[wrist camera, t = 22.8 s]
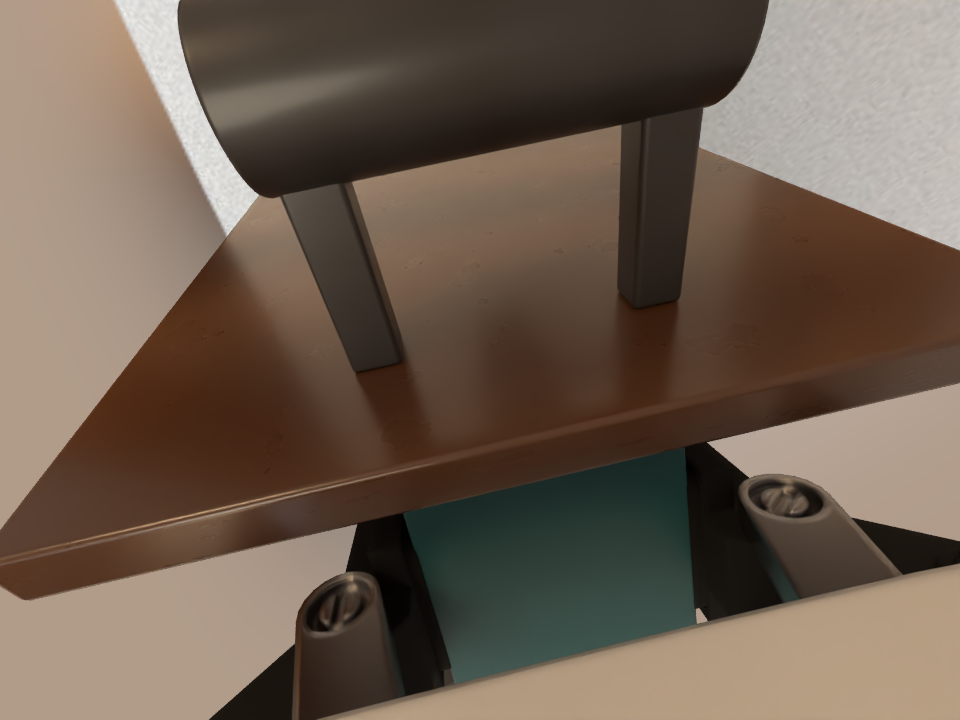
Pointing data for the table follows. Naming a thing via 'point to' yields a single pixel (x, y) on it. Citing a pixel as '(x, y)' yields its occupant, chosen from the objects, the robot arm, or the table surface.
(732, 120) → the table surface
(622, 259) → the lid
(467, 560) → the block
